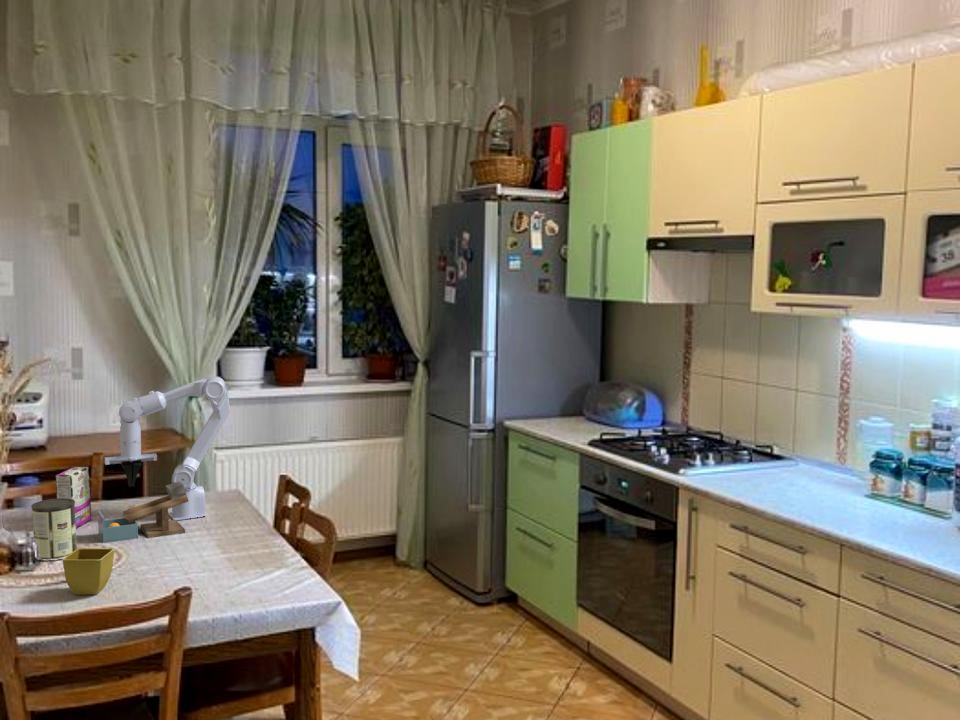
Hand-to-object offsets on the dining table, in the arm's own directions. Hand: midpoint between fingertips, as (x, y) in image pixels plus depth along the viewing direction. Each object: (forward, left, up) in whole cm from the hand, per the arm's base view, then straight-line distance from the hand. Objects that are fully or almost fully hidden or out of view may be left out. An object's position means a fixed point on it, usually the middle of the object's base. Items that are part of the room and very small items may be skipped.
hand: (131, 486), depth 267 cm
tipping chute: (-4, +13, -4) cm, 14 cm away
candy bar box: (+16, -3, -11) cm, 19 cm away
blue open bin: (+7, +16, -10) cm, 20 cm away
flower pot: (+20, +60, -11) cm, 64 cm away
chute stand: (-5, +16, -10) cm, 20 cm away
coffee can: (+24, +26, -11) cm, 37 cm away
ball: (+8, +16, -8) cm, 20 cm away
